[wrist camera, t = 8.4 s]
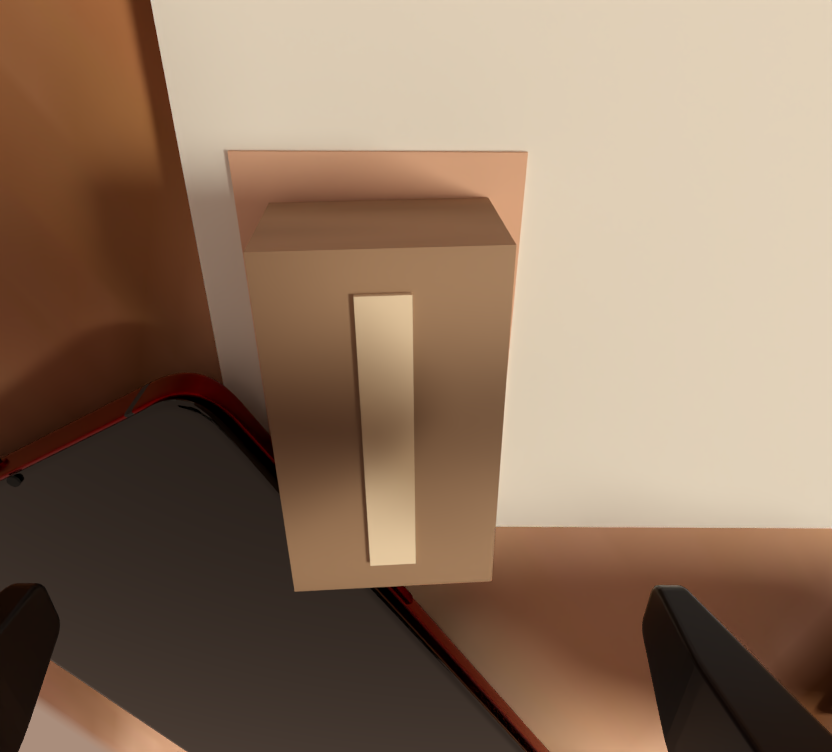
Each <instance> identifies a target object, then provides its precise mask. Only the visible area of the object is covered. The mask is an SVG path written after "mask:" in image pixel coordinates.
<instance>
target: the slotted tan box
mask: <svg viewBox="0 0 832 752" xmlns="http://www.w3.org/2000/svg"><path fill="white" fill-rule="evenodd" d="M243 254H244V261H245V267H246V274H247V281H248V287H249V294H250V300H251V307H252V314H253V320H254V327H255V333H256V340H257V347H258V353H259V360H260V366H261V373H262V380H263V386H264V393H265V399H266V406H267V413H268V419H269V426H270V432H271V439H272V446H273V452H274V459H275V465H276V472H277V479H278V485H279V492H280V498H281V505H282V512H283V518H284V525H285V531H286V538H287V545H288V551H289V558H290V564H291V571H292V577H293V584H294V591H295V592H297V591H316V590H335V589H354V588H373V587H392V586H411V585H430V584H449V583H468V582H488V581H492V571H493V557H494V544H495V530H496V516H497V503H498V489H499V476H500V462H501V448H502V435H503V421H504V407H505V394H506V380H507V366H508V353H509V339H510V326H511V312H512V298H513V285H514V271H515V257H516V243H515V242H514V240H513V238H512V237H511V235H510V233H509V232H508V230H507V228H506V226H505V225H504V223H503V221H502V220H501V218H500V216H499V215H498V213H497V211H496V210H495V208H494V206H493V205H492V203H491V201H490V200H489V198H448V199H407V200H366V201H325V202H283V203H269V204H268V206H267V208H266V210H265V211H264V213H263V215H262V217H261V219H260V221H259V223H258V225H257V227H256V229H255V231H254V233H253V235H252V236H251V238H250V240H249V242H248V244H247V246H246V248H245V250H244V252H243Z"/></svg>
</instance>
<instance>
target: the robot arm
mask: <svg viewBox="0 0 832 752" xmlns="http://www.w3.org/2000/svg"><path fill="white" fill-rule="evenodd" d="M59 630H60V619H59V616H58V613H57V611H56V609H55V607H54V605H53V603H52V601H51V598H50V596H49V594H48V592H47V590H46V588H45V587H44V586H43V585H42V584H39V583H15V584H12V585H10V586H8V587H6V588H5V589H3V590H2V591H1V592H0V752H18V751H19V749H20V746H21V743H22V741H23V739H24V736H25V733H26V731H27V728H28V725H29V722H30V720H31V717H32V713H33V710H34V707H35V704H36V701H37V698H38V695H39V692H40V689H41V686H42V683H43V680H44V677H45V674H46V671H47V668H48V665H49V662H50V659H51V656H52V653H53V650H54V647H55V644H56V641H57V638H58V635H59ZM642 632H643V639H644V644H645V648H646V653H647V658H648V663H649V668H650V672H651V677H652V682H653V687H654V692H655V697H656V701H657V706H658V711H659V716H660V721H661V725H662V730H663V734H664V739H665V742H666V746H667V749H668V752H832V734H831V733H830V732H829V731H828V730H827V729H826V728H825V727H824V726H823V725H822V724H821V723H820V722H819V721H818V720H817V719H816V718H815V717H814V716H813V715H812V714H811V713H810V712H809V711H808V710H807V709H806V708H805V707H804V706H803V705H802V704H801V703H800V702H799V701H798V700H797V699H796V698H795V697H794V696H793V695H792V694H791V693H790V692H789V691H788V690H787V689H786V688H785V687H784V686H783V685H782V684H781V683H780V682H779V681H778V680H777V679H776V678H775V677H774V676H773V675H772V674H771V673H770V672H769V671H768V670H767V669H766V668H765V667H764V666H763V665H762V664H761V663H760V662H759V661H758V660H757V659H756V658H755V657H754V656H753V655H752V654H751V653H750V652H749V651H748V650H747V649H746V648H745V647H744V646H743V645H742V644H741V643H740V642H739V641H738V640H737V639H736V638H735V637H734V636H733V635H732V634H731V633H730V632H729V631H728V630H727V629H726V628H725V627H724V626H723V625H722V624H721V623H720V622H719V621H718V620H717V619H716V618H715V617H714V616H713V615H712V614H711V613H710V612H709V611H708V610H707V609H706V608H705V607H704V606H703V605H702V604H701V603H700V602H699V601H698V600H697V599H696V598H695V597H694V596H693V595H692V594H691V593H690V592H689V591H688V590H687V589H686V588H684V587H682V586H679V585H657V586H655V587H654V588H653V589H652V591H651V594H650V597H649V601H648V604H647V607H646V611H645V614H644V617H643V622H642Z"/></svg>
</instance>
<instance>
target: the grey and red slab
mask: <svg viewBox="0 0 832 752" xmlns="http://www.w3.org/2000/svg"><path fill="white" fill-rule="evenodd" d="M15 583H39V584H42V585H43V586H44V587H45V588H46V590H47V592H48V594H49V596H50V598H51V601H52V603H53V605H54V607H55V609H56V611H57V613H58V616H59V619H60V630H59V635H58V638H57V641H56V644H55V647H54V650H53V653H52V656H51V659H50V660H51V661H53V662H54V663H56V664H57V665H58V666H60V667H61V668H63V669H64V670H66V671H67V672H69V673H70V674H72V675H73V676H75V677H76V678H78V679H79V680H81V681H82V682H84V683H85V684H87V685H88V686H90V687H91V688H93V689H94V690H96V691H97V692H99V693H100V694H102V695H103V696H105V697H106V698H108V699H109V700H111V701H112V702H114V703H115V704H117V705H118V706H120V707H121V708H123V709H124V710H126V711H127V712H129V713H130V714H131V715H133V716H134V717H136V718H137V719H139V720H140V721H142V722H143V723H145V724H146V725H148V726H149V727H151V728H152V729H154V730H155V731H157V732H158V733H160V734H161V735H163V736H164V737H166V738H167V739H169V740H170V741H172V742H173V743H175V744H176V745H178V746H179V747H181V748H182V749H184V750H185V751H187V752H549V751H548V750H547V748H546V747H545V746H544V745H543V744H542V743H541V742H540V741H539V739H538V738H537V737H536V736H535V735H534V734H533V733H532V732H531V731H530V729H529V728H528V727H527V726H526V725H525V724H524V723H523V722H522V720H521V719H520V718H519V717H518V716H517V715H516V714H515V713H514V711H513V710H512V709H511V708H510V707H509V706H508V705H507V704H506V702H505V701H504V700H503V699H502V698H501V697H500V696H499V695H498V693H497V692H496V691H495V690H494V689H493V688H492V687H491V686H490V684H489V683H488V682H487V681H486V680H485V679H484V678H483V677H482V675H481V674H480V673H479V672H478V671H477V670H476V669H475V668H474V666H473V665H472V664H471V663H470V662H469V661H468V660H467V659H466V658H465V656H464V655H463V654H462V653H461V652H460V651H459V650H458V649H457V647H456V646H455V645H454V644H453V643H452V642H451V641H450V639H449V638H448V637H447V636H446V635H445V634H444V633H443V631H442V630H441V629H440V628H439V627H438V626H437V625H436V623H435V622H434V621H433V620H432V619H431V618H430V617H429V616H428V614H427V613H426V612H425V611H424V610H423V609H422V608H421V606H420V605H419V604H418V603H417V602H416V601H415V600H414V598H413V597H412V595H411V593H410V592H409V591H408V590H407V589H406V588H405V587H404V586H392V587H373V588H354V589H335V590H316V591H297V592H295V591H294V584H293V577H292V571H291V564H290V558H289V551H288V545H287V538H286V531H285V525H284V518H283V512H282V505H281V498H280V492H279V485H278V479H277V472H276V465H275V459H274V452H273V446H272V439H271V436H270V434H269V433H268V432H267V431H266V430H265V429H264V428H263V426H262V425H261V424H260V423H259V422H258V421H257V420H256V418H255V417H254V416H253V415H252V414H251V413H250V411H249V410H248V409H247V408H246V407H245V406H244V405H243V403H242V402H241V401H240V400H239V399H238V398H237V397H236V396H235V395H234V394H233V393H232V392H231V391H230V390H229V389H228V388H226V387H225V386H224V385H222V384H221V383H219V382H218V381H216V380H214V379H212V378H210V377H208V376H205V375H201V374H197V373H177V374H172V375H168V376H165V377H162V378H160V379H157V380H155V381H153V382H151V383H149V384H147V385H145V386H143V387H141V388H139V389H137V390H135V391H133V392H131V393H129V394H127V395H125V396H123V397H121V398H119V399H117V400H115V401H113V402H111V403H109V404H107V405H105V406H103V407H101V408H99V409H97V410H95V411H93V412H91V413H89V414H87V415H85V416H84V417H82V418H80V419H78V420H76V421H74V422H72V423H70V424H68V425H66V426H64V427H62V428H60V429H58V430H56V431H54V432H52V433H50V434H48V435H46V436H44V437H42V438H40V439H38V440H36V441H34V442H32V443H30V444H28V445H27V446H25V447H23V448H21V449H19V450H17V451H15V452H13V453H11V454H9V455H7V456H5V457H3V458H0V592H1V591H2V590H3V589H5V588H6V587H8V586H10V585H12V584H15Z"/></svg>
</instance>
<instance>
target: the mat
mask: <svg viewBox="0 0 832 752" xmlns="http://www.w3.org/2000/svg"><path fill="white" fill-rule="evenodd" d="M150 1H151V6H152V11H153V16H154V22H155V27H156V32H157V37H158V43H159V48H160V53H161V58H162V64H163V69H164V74H165V80H166V85H167V90H168V95H169V101H170V106H171V111H172V116H173V122H174V127H175V132H176V138H177V143H178V148H179V153H180V159H181V164H182V169H183V174H184V180H185V185H186V190H187V196H188V201H189V206H190V211H191V217H192V222H193V227H194V232H195V238H196V243H197V248H198V254H199V259H200V264H201V269H202V275H203V280H204V285H205V290H206V296H207V301H208V306H209V312H210V317H211V322H212V327H213V333H214V338H215V343H216V348H217V354H218V359H219V364H220V370H221V375H222V380H223V385H224V386H225V387H226V388H228V389H229V390H230V391H231V392H232V393H233V394H234V395H235V396H236V397H237V398H238V399H239V400H240V401H241V402H242V403H243V405H244V406H245V407H246V408H247V409H248V410H249V411H250V413H251V414H252V415H253V416H254V417H255V418H256V420H257V421H258V422H259V423H260V424H261V425H262V426H263V428H264V429H265V430H266V431H267V432H268V433H269V434H270V436H271V432H270V426H269V419H268V413H267V406H266V399H265V393H264V386H263V380H262V373H261V366H260V360H259V353H258V347H257V340H256V333H255V327H254V320H253V314H252V307H251V300H250V294H249V287H248V281H247V274H246V267H245V261H244V254H243V252H244V250H245V248H246V246H247V244H248V242H249V240H250V238H251V236H252V235H253V233H254V231H255V229H256V227H257V225H258V223H259V221H260V219H261V217H262V215H263V213H264V211H265V210H266V208H267V206H268V204H269V203H283V202H325V201H366V200H407V199H448V198H489V200H490V201H491V203H492V205H493V206H494V208H495V210H496V211H497V213H498V215H499V216H500V218H501V220H502V221H503V223H504V225H505V226H506V228H507V230H508V232H509V233H510V235H511V237H512V238H513V240H514V242H515V243H516V257H515V271H514V285H513V298H512V312H511V326H510V339H509V353H508V366H507V380H506V394H505V407H504V421H503V435H502V448H501V462H500V476H499V489H498V503H497V516H496V527H665V528H832V0H150Z"/></svg>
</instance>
